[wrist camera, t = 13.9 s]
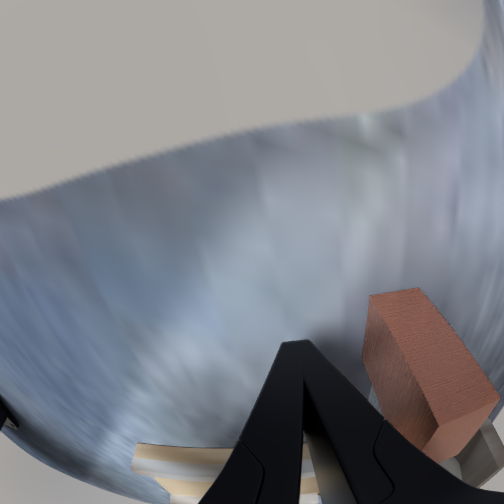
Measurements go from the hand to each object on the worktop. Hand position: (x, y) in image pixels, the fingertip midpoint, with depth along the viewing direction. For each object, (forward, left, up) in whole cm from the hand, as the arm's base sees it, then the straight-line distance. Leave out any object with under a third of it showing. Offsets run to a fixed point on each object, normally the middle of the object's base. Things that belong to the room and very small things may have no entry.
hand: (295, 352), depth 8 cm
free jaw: (+3, -7, -1) cm, 7 cm away
